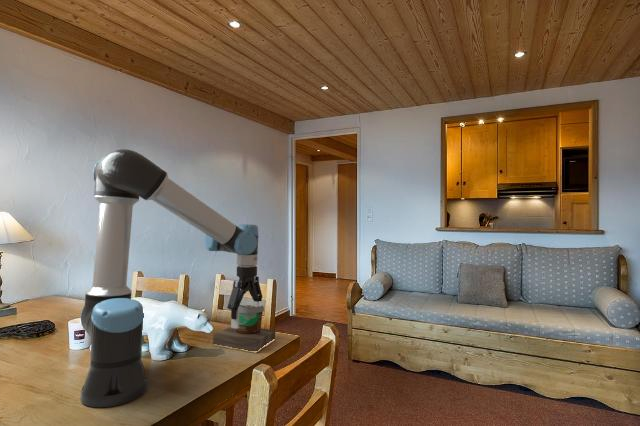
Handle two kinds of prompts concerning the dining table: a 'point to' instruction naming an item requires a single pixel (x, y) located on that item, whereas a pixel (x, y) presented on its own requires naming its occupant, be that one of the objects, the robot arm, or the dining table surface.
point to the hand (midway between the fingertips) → (245, 323)
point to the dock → (243, 339)
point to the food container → (249, 319)
